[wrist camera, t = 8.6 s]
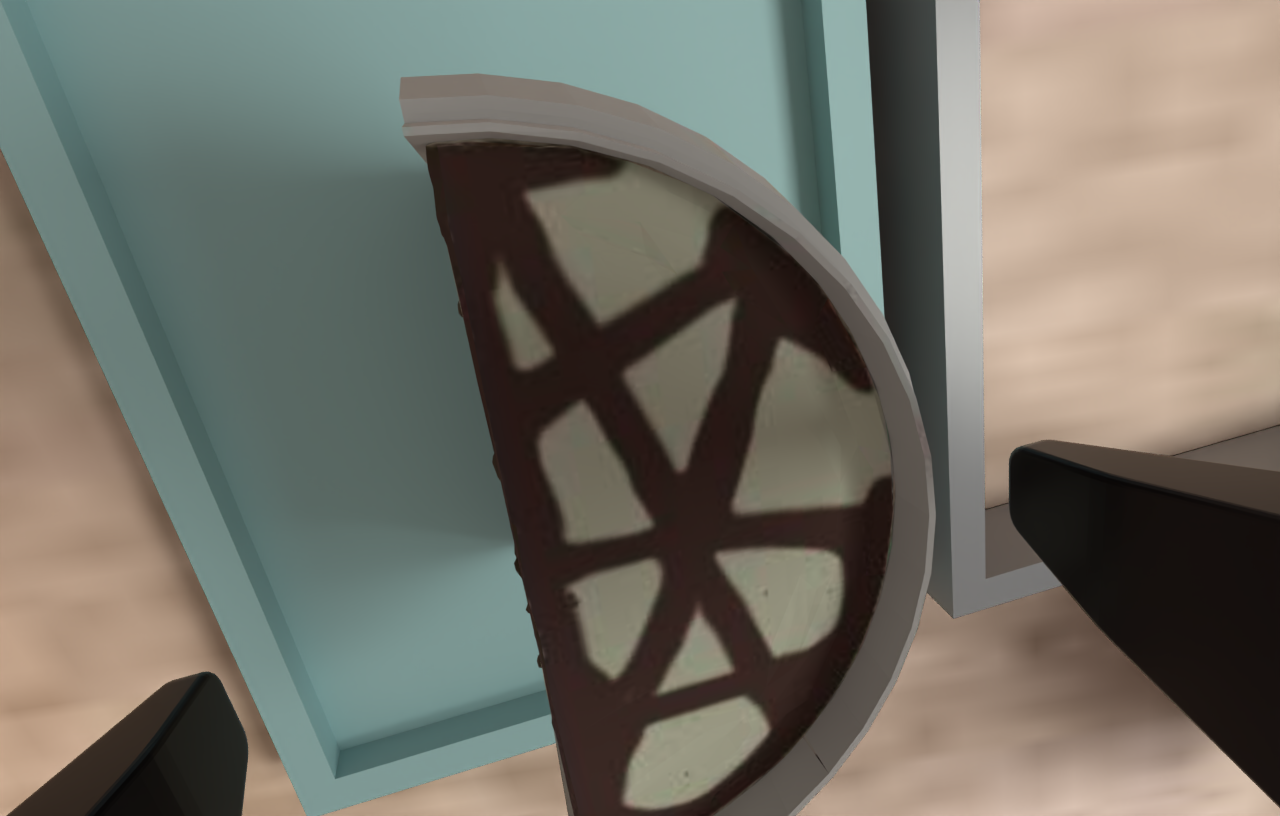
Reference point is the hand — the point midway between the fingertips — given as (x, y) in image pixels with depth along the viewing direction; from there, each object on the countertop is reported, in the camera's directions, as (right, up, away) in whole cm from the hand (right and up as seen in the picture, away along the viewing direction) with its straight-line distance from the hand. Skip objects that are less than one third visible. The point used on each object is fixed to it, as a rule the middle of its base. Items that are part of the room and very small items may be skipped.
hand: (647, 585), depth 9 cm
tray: (-3, +4, +11) cm, 12 cm away
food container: (-1, +3, +11) cm, 11 cm away
